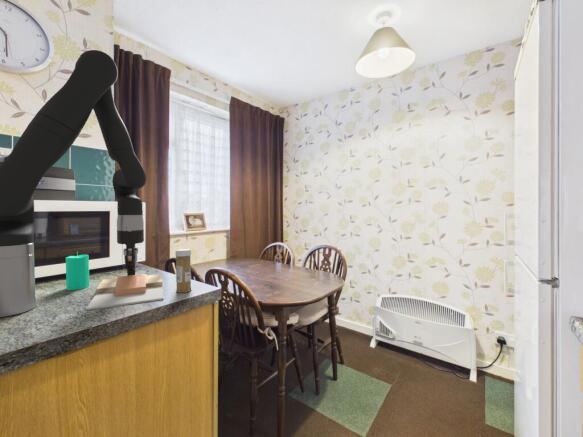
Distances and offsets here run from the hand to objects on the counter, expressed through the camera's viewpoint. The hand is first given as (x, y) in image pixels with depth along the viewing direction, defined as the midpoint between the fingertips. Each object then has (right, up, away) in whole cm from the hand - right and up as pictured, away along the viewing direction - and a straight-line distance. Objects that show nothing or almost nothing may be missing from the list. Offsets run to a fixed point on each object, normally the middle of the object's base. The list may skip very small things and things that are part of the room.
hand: (131, 280), depth 87 cm
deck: (-1, -2, +2) cm, 3 cm away
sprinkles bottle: (+18, -3, -3) cm, 19 cm away
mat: (+5, -3, -9) cm, 11 cm away
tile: (+3, -1, -4) cm, 5 cm away
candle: (-18, -3, +1) cm, 18 cm away
